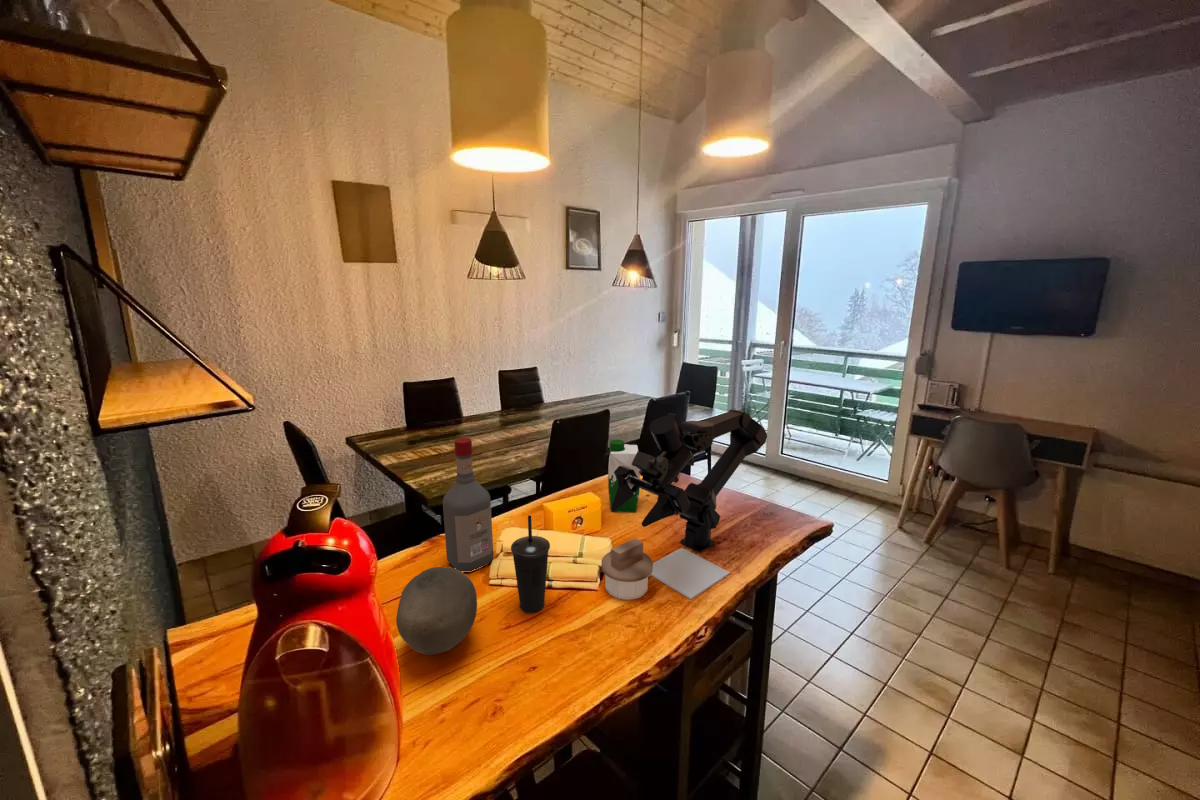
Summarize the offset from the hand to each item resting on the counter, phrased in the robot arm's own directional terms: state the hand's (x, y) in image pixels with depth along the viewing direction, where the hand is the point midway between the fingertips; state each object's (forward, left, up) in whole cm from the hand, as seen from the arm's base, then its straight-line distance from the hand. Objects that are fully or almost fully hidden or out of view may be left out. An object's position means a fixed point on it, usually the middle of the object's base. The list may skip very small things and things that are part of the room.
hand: (626, 517), depth 103 cm
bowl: (0, +1, -16) cm, 16 cm away
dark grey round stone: (+38, -8, -16) cm, 42 cm away
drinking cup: (+19, -7, -16) cm, 26 cm away
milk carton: (-26, -27, -16) cm, 41 cm away
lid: (0, +1, -11) cm, 11 cm away
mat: (-14, +6, -16) cm, 22 cm away
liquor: (+21, -30, -16) cm, 40 cm away
